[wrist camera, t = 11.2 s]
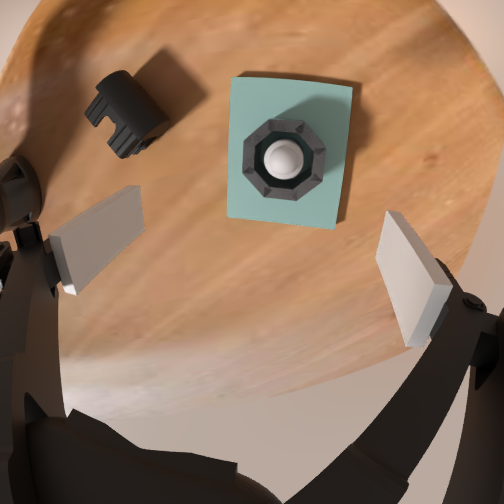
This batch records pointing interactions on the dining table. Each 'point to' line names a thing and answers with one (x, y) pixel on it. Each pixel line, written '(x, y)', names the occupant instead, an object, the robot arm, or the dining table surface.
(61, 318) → the dining table surface
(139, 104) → the end cap
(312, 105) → the post stand
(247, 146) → the collar
